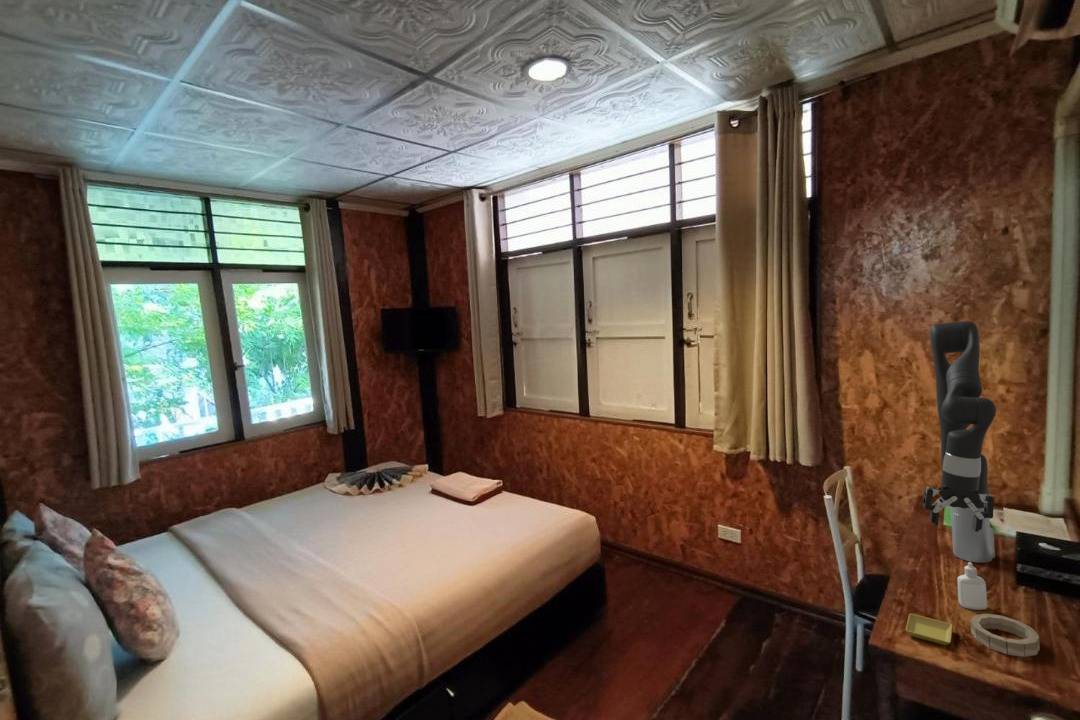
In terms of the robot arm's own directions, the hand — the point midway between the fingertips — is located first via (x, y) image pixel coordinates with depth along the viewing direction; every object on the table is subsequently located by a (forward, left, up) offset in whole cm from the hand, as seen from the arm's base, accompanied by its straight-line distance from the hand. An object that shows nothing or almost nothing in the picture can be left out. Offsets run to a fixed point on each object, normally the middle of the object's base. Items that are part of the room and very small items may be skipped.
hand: (954, 527), depth 130 cm
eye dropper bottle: (-1, +3, -21) cm, 21 cm away
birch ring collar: (+5, +16, -21) cm, 26 cm away
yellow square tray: (+18, +10, -21) cm, 30 cm away
